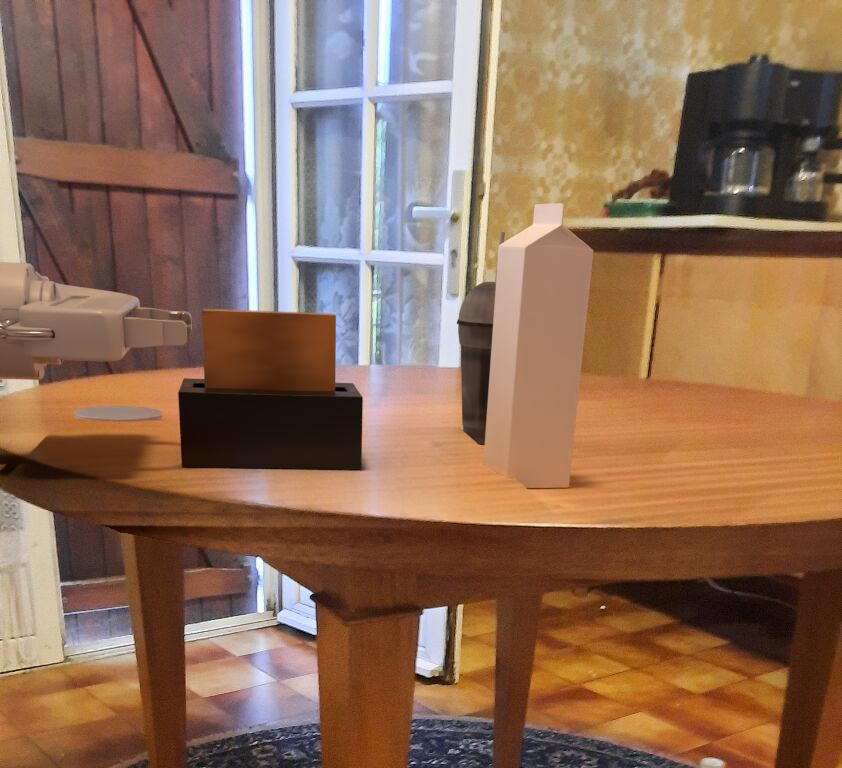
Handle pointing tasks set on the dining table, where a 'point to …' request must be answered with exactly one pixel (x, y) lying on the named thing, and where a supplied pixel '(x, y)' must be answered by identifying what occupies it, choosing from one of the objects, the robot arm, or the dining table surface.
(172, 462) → the dining table surface
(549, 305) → the milk
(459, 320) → the beverage cup
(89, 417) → the plate
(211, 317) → the toast
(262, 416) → the toaster
